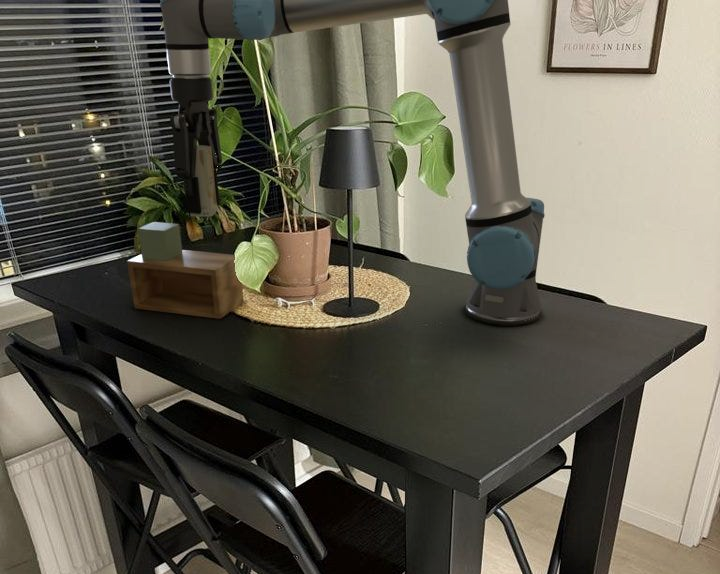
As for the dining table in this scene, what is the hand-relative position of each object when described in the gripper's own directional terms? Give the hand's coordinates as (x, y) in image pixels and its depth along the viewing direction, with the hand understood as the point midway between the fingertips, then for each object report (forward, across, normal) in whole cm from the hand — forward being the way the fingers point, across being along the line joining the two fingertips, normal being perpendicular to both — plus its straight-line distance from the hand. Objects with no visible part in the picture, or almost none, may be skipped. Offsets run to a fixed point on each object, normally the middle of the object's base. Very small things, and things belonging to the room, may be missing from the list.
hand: (203, 208), depth 148 cm
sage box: (+10, 0, -11) cm, 15 cm away
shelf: (+20, 0, -6) cm, 21 cm away
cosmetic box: (+1, 0, 0) cm, 1 cm away
